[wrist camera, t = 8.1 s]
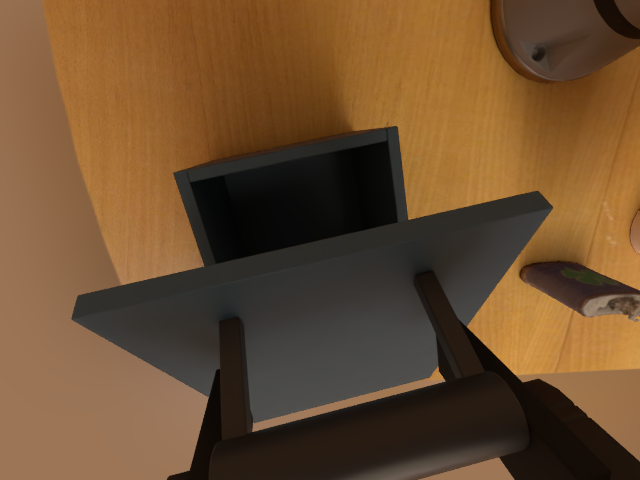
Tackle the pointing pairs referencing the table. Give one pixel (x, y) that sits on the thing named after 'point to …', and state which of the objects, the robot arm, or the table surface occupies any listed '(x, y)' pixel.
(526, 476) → the robot arm
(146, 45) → the table surface
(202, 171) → the box
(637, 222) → the cylinder with rectangular tab
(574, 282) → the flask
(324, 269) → the lunchbox lid
